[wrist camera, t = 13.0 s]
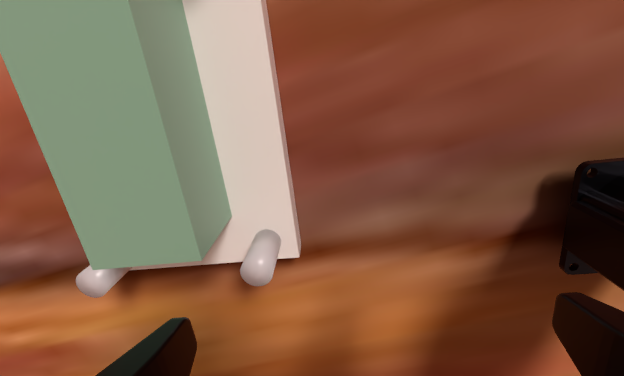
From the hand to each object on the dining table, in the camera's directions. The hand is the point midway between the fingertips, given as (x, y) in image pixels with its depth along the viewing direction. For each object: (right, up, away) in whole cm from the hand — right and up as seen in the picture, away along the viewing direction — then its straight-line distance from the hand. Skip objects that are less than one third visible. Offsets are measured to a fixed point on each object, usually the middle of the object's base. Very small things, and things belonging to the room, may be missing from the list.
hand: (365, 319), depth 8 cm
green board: (-9, +7, +8) cm, 14 cm away
